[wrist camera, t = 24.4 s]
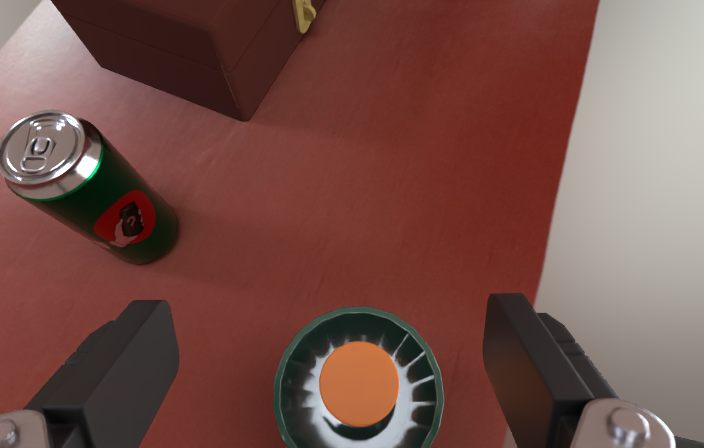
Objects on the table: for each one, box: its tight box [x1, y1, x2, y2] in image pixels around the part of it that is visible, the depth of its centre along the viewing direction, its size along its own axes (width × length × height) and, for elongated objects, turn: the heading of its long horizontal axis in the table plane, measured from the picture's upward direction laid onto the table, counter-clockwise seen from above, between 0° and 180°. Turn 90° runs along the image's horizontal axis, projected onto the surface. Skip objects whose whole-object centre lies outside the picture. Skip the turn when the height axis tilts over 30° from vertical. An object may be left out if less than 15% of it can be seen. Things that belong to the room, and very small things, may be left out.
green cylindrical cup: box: [273, 306, 444, 448], centre depth 23 cm, size 7×7×11 cm
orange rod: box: [319, 341, 400, 427], centre depth 21 cm, size 2×2×16 cm
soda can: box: [0, 110, 178, 264], centre depth 27 cm, size 5×5×12 cm
